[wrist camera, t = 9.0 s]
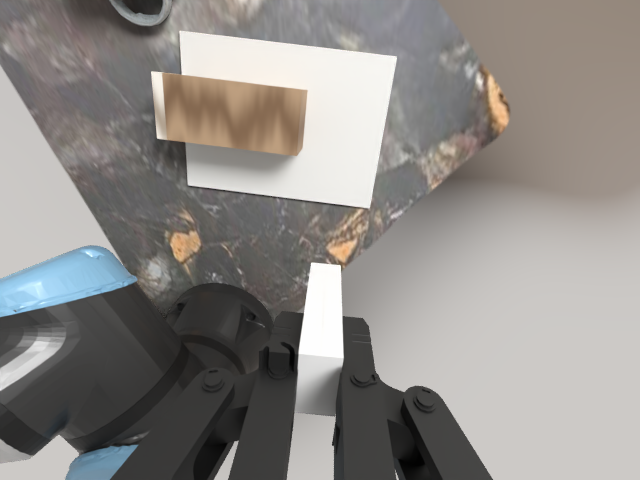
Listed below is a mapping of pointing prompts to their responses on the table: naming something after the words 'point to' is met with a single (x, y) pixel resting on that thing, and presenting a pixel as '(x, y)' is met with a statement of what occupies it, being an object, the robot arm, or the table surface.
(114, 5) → the ceramic mug
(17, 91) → the table surface
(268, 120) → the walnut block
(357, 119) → the white mat
